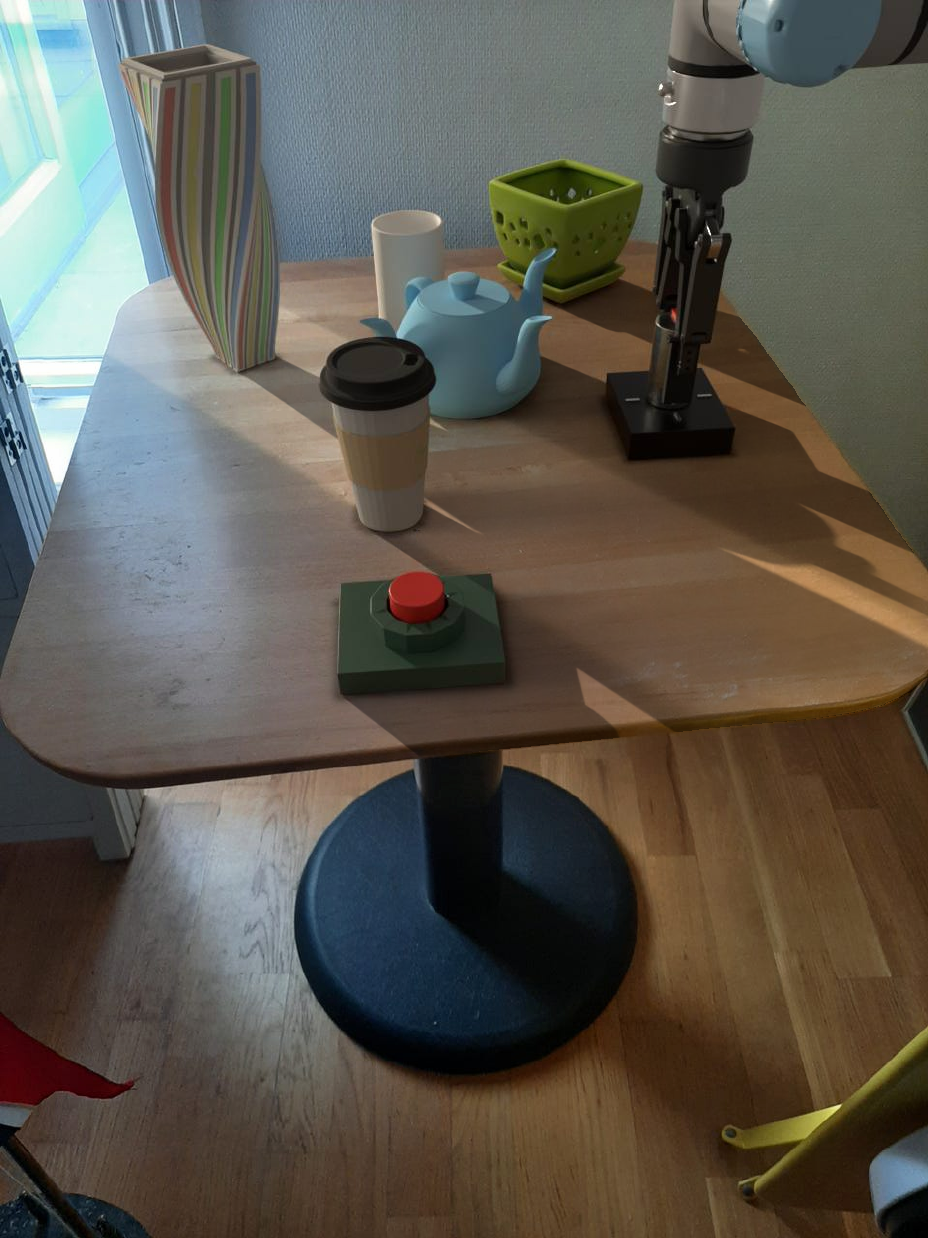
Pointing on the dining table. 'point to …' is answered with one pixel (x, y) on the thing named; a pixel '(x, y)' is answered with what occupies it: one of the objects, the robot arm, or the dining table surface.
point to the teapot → (475, 339)
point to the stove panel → (667, 420)
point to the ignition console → (419, 639)
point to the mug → (405, 257)
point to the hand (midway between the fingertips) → (669, 387)
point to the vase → (213, 193)
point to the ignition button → (416, 597)
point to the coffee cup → (382, 425)
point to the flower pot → (564, 224)
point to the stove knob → (661, 360)
